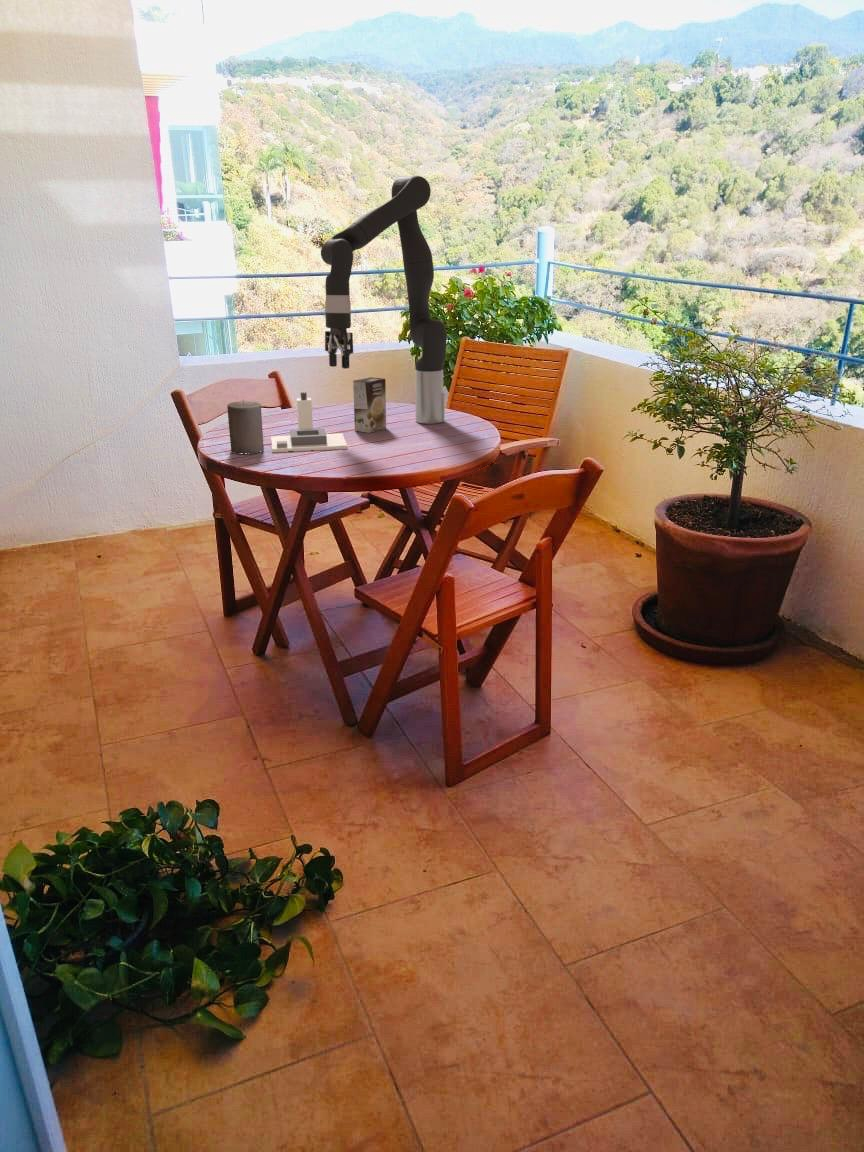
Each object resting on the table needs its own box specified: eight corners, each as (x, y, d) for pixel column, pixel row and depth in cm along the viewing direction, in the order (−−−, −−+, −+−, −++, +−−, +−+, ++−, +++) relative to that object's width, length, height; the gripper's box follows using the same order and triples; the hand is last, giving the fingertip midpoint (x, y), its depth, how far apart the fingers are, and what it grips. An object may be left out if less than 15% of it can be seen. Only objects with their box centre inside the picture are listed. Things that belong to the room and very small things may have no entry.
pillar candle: (224, 453, 243) (219, 401, 237) (241, 445, 252) (237, 395, 246) (253, 456, 240) (249, 404, 234) (270, 448, 249) (267, 397, 243)
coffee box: (369, 433, 266) (368, 382, 259) (354, 430, 269) (352, 380, 263) (387, 428, 273) (385, 378, 266) (371, 425, 276) (370, 376, 270)
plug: (312, 432, 267) (310, 391, 262) (313, 434, 264) (311, 393, 259) (298, 432, 267) (296, 391, 262) (299, 435, 263) (296, 394, 258)
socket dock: (342, 436, 262) (341, 425, 260) (347, 448, 247) (346, 437, 246) (271, 439, 258) (270, 428, 257) (272, 452, 243) (271, 440, 242)
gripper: (360, 312, 244) (361, 368, 249) (338, 311, 255) (339, 365, 260) (337, 311, 240) (338, 369, 245) (316, 311, 251) (317, 366, 257)
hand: (339, 367), depth 253 cm, fingers open, 8 cm apart
